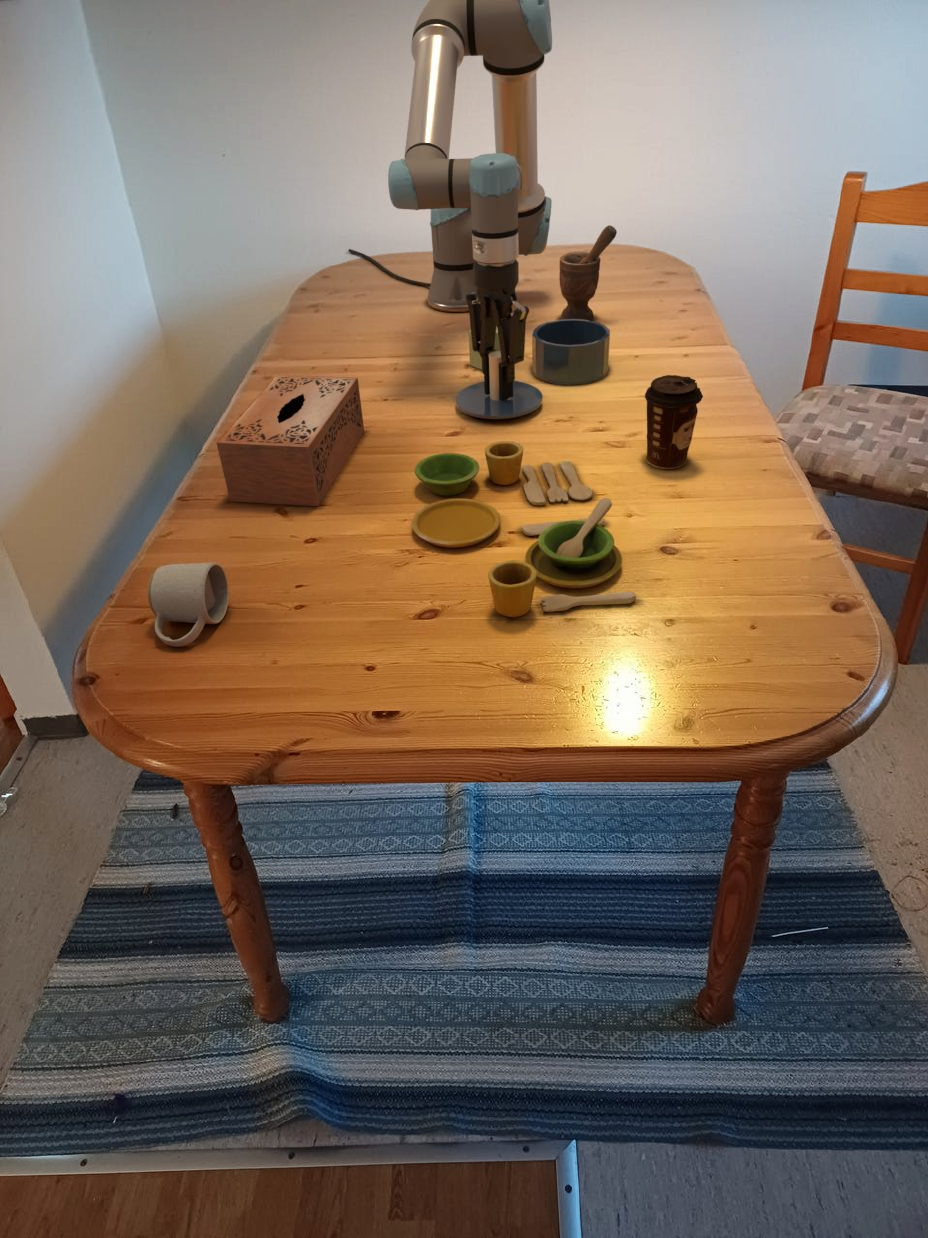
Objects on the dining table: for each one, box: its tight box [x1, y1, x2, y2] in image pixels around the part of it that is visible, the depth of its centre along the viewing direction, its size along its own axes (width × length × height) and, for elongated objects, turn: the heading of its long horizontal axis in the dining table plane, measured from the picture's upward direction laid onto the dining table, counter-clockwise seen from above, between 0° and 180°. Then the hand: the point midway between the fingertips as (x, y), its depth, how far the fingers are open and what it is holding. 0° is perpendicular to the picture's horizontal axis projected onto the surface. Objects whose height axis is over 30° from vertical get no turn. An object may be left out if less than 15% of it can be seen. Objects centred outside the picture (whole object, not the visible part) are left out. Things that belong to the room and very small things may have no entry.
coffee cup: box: [644, 374, 704, 470], centre depth 140 cm, size 9×8×13 cm
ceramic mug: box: [146, 561, 230, 648], centre depth 112 cm, size 11×8×8 cm
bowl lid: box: [454, 351, 544, 420], centre depth 160 cm, size 16×16×9 cm
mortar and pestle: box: [558, 225, 618, 321], centre depth 191 cm, size 12×9×20 cm
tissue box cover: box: [216, 374, 365, 507], centre depth 145 cm, size 26×14×10 cm, turn 169°
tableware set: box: [411, 440, 637, 618], centre depth 126 cm, size 41×28×6 cm
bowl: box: [531, 319, 611, 386], centre depth 173 cm, size 15×15×8 cm
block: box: [468, 326, 500, 371], centre depth 177 cm, size 5×5×7 cm
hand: (498, 394), depth 162 cm, fingers closed on bowl lid, 3 cm apart
